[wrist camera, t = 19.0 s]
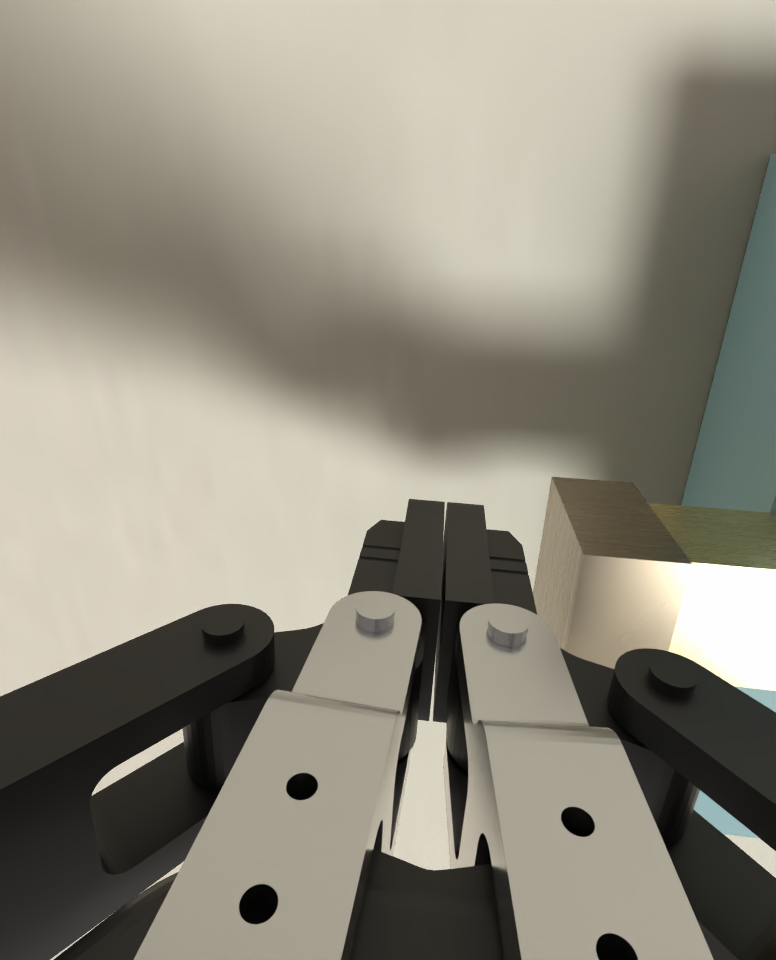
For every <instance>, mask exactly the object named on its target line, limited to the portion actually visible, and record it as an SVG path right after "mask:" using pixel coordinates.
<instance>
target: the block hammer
mask: <svg viewBox="0 0 776 960" xmlns="http://www.w3.org/2000/svg"><path fill="white" fill-rule="evenodd" d="M533 597H534V602H535V606H536V611H537V615H538V616H539V617H541V618H542V619H544V620H545V621H546V622H547V623H548V624H549V625H550V627H551V628H552V630H553V632H554V634H555V636H556V639H557V642H558V644H559V647H560V648H561V649H563V650H565V651H566V652H568V653H570V654H572V655H574V656H576V657H579V658H582V659H584V660H587V661H590V662H593V663H596V664H600V665H603V666H606V667H609V668H612V669H614V668H615V664H616V662H617V660H618V658H619V657H620V656H621V655H622V654H624V653H626V652H628V651H631V650H635V649H643V648H650V649H659V650H665V651H669V652H672V653H675V654H678V655H681V656H684V657H686V658H688V659H690V660H692V661H694V662H696V663H698V664H699V665H701V666H703V667H704V668H706V669H707V670H709V671H711V672H712V673H714V674H715V675H717V676H719V677H720V678H722V679H723V680H725V681H727V682H728V683H730V684H731V685H733V686H737V687H746V688H756V689H766V690H775V691H776V513H769V512H756V511H744V510H731V509H719V508H706V507H694V506H681V505H669V504H656V503H647V501H646V500H645V499H644V497H643V496H642V495H641V493H640V492H639V491H638V489H637V488H636V486H635V485H634V484H633V483H625V482H612V481H599V480H586V479H573V478H560V477H552V479H551V485H550V491H549V498H548V504H547V510H546V516H545V523H544V529H543V535H542V541H541V547H540V554H539V560H538V566H537V572H536V579H535V585H534V591H533Z"/></svg>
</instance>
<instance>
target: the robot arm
mask: <svg viewBox="0 0 776 960" xmlns="http://www.w3.org/2000/svg"><path fill="white" fill-rule="evenodd" d="M444 505H445V502H439V501H427V500H416V499H409V502H408V508H407V514H406V520H405V522H398V521H387V520H380V521H379V522H378V523H377V524H375V525H374V526H373V527H371V528H370V529H369V530H368V531H367V533H366V536H365V540H364V543H363V547H362V550H361V553H360V557H359V560H358V563H357V566H356V570H355V573H354V576H353V580H352V583H351V587H350V590H349V593H348V596H346V597H344V598H342V599H340V600H339V601H337V602H336V603H335V604H334V605H333V606H332V608H331V609H330V611H329V613H328V616H327V618H326V620H325V622H324V623H323V624H320V625H318V626H315V627H311V628H307V629H301V630H293V631H284V632H275V633H274V625H273V622H272V620H271V619H270V617H269V616H268V615H267V614H266V613H264V612H263V611H261V610H259V609H257V608H255V607H251V606H247V605H241V604H223V605H217V606H212V607H208V608H205V609H202V610H199V611H197V612H195V613H192V614H190V615H188V616H185V617H183V618H181V619H178V620H176V621H174V622H172V623H169V624H167V625H165V626H162V627H160V628H158V629H155V630H153V631H151V632H148V633H146V634H144V635H142V636H139V637H137V638H135V639H132V640H130V641H128V642H125V643H123V644H121V645H118V646H116V647H114V648H111V649H109V650H107V651H105V652H102V653H100V654H98V655H95V656H93V657H91V658H88V659H86V660H84V661H81V662H79V663H77V664H75V665H72V666H70V667H68V668H65V669H63V670H61V671H58V672H56V673H54V674H51V675H49V676H47V677H45V678H42V679H40V680H38V681H35V682H33V683H31V684H28V685H26V686H24V687H21V688H19V689H17V690H14V691H12V692H10V693H8V694H5V695H3V696H1V697H0V960H50V959H51V958H53V957H54V956H55V955H57V954H58V953H59V952H61V951H62V950H64V949H65V948H66V947H68V946H69V945H70V944H72V943H73V942H74V941H76V940H77V939H79V938H80V937H81V936H83V935H84V934H85V933H87V932H88V931H89V930H91V929H92V928H93V927H95V926H96V925H98V924H99V923H100V922H102V921H103V920H104V919H105V920H104V921H103V922H102V923H100V924H99V925H98V926H96V927H95V928H94V929H93V930H91V931H90V932H89V933H87V934H86V935H85V936H84V937H82V938H81V939H80V940H78V941H77V942H76V943H74V944H73V945H72V946H71V947H69V948H68V949H67V950H65V951H64V952H63V953H62V954H60V955H59V956H58V957H56V958H55V959H54V960H776V878H775V877H774V876H772V875H771V874H770V873H769V872H768V871H766V870H765V869H764V868H763V867H762V866H761V865H759V864H758V863H757V862H756V861H755V860H753V859H752V858H751V857H750V856H749V855H747V854H746V853H745V852H744V851H743V850H741V849H740V848H739V847H738V846H737V845H735V844H734V843H733V842H732V841H731V840H730V839H728V838H727V837H726V836H725V835H724V834H722V833H721V832H720V831H719V830H718V829H716V828H715V827H714V826H713V825H712V824H710V823H709V822H708V821H707V820H706V819H704V818H703V817H702V816H701V815H700V814H699V813H697V812H696V811H695V810H694V806H695V803H696V801H697V798H698V795H699V792H700V790H701V791H702V792H703V793H704V794H706V795H707V796H708V797H709V798H710V799H712V800H713V801H714V802H715V803H717V804H718V805H719V806H720V807H722V808H723V809H724V810H725V811H727V812H728V813H729V814H730V815H732V816H733V817H734V818H735V819H737V820H738V821H739V822H740V823H742V824H743V825H744V826H745V827H747V828H748V829H749V830H750V831H751V832H753V833H754V834H755V835H756V836H758V837H759V838H760V839H761V840H763V841H764V842H765V843H766V844H768V845H769V846H770V847H771V848H773V849H774V850H775V851H776V712H774V711H773V710H771V709H769V708H768V707H766V706H765V705H763V704H761V703H760V702H758V701H757V700H755V699H754V698H752V697H750V696H749V695H747V694H746V693H744V692H742V691H741V690H739V689H738V688H736V687H734V686H733V685H731V684H730V683H728V682H727V681H725V680H723V679H722V678H720V677H719V676H717V675H715V674H714V673H712V672H711V671H709V670H707V669H706V668H704V667H703V666H701V665H699V664H698V663H696V662H694V661H692V660H690V659H688V658H686V657H684V656H681V655H678V654H675V653H672V652H669V651H665V650H659V649H650V648H643V649H635V650H631V651H628V652H626V653H624V654H622V655H621V656H620V657H619V658H618V660H617V662H616V664H615V668H614V669H612V668H609V667H606V666H603V665H600V664H596V663H593V662H590V661H587V660H584V659H582V658H579V657H576V656H574V655H572V654H570V653H568V652H566V651H565V650H563V649H561V648H560V647H559V644H558V642H557V639H556V636H555V634H554V632H553V630H552V628H551V627H550V625H549V624H548V623H547V622H546V621H545V620H544V619H542V618H541V617H539V616H538V615H537V611H536V606H535V602H534V597H533V593H532V588H531V584H530V579H529V575H528V570H527V565H526V563H525V556H524V552H523V547H522V545H521V544H520V543H519V542H518V541H517V540H516V539H515V538H514V537H513V535H512V534H511V533H510V532H509V531H498V530H487V529H486V522H485V513H484V506H483V505H474V504H463V503H451V502H448V503H447V510H446V520H445V530H444ZM443 531H444V541H443ZM435 655H436V664H435ZM434 665H435V687H434V709H433V721H436V722H445V723H447V733H446V746H445V754H444V766H443V769H444V783H445V797H446V812H447V826H448V841H449V855H450V869H447V870H435V871H433V870H426V869H423V868H420V867H418V866H415V865H413V864H410V863H408V862H405V861H403V860H400V859H398V858H395V857H393V852H394V847H395V841H396V836H397V830H398V824H399V819H400V813H401V808H402V802H403V797H404V791H405V785H406V780H407V774H408V769H409V763H410V751H411V748H412V747H413V745H414V743H415V739H416V733H417V722H418V720H425V721H429V715H430V705H431V695H432V685H433V675H434ZM182 728H183V735H184V742H183V743H181V744H179V745H178V746H176V747H174V748H173V749H171V750H169V751H167V752H166V753H164V754H162V755H161V756H159V757H157V758H156V759H154V760H152V761H150V762H149V763H147V764H145V765H144V766H142V767H140V768H139V769H137V770H135V771H133V772H132V773H130V774H128V775H127V776H125V777H123V778H122V779H120V780H118V781H116V782H115V783H113V784H111V785H110V786H108V787H106V788H104V789H103V790H101V791H99V792H98V793H96V794H94V795H93V796H91V795H92V792H93V790H94V788H95V787H96V785H97V784H98V782H99V781H100V780H101V779H102V778H103V777H104V776H105V775H106V774H107V773H108V772H109V771H110V770H111V769H113V768H114V767H116V766H117V765H119V764H121V763H123V762H124V761H126V760H128V759H130V758H131V757H133V756H135V755H137V754H138V753H140V752H142V751H144V750H145V749H147V748H149V747H151V746H152V745H154V744H156V743H158V742H159V741H161V740H163V739H165V738H166V737H168V736H170V735H172V734H173V733H175V732H177V731H179V730H180V729H182ZM183 861H184V863H183V865H182V867H181V869H180V871H179V872H177V873H175V874H173V875H171V876H169V877H167V878H165V879H163V880H161V881H160V882H158V883H156V884H155V885H153V886H151V885H152V884H153V883H155V882H156V881H157V880H159V879H160V878H161V877H163V876H164V875H166V874H167V873H168V872H170V871H171V870H172V869H174V868H175V867H176V866H178V865H179V864H181V863H182V862H183ZM149 886H151V887H150V888H148V887H149ZM147 888H148V889H147ZM145 889H147V890H145ZM144 890H145V891H144ZM142 891H143V892H142ZM141 892H142V893H141ZM138 894H139V895H138ZM127 902H128V903H127ZM119 908H120V909H119ZM115 911H116V912H115ZM111 914H112V915H111ZM110 915H111V916H110ZM108 916H109V917H108ZM107 917H108V918H107ZM106 918H107V919H106Z"/></svg>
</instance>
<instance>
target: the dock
mask: <svg viewBox="0 0 776 960" xmlns="http://www.w3.org/2000/svg"><path fill="white" fill-rule="evenodd" d="M681 506H694V507H706V508H719V509H731V510H744V511H756V512H769V513H776V152H775V153H772V154H771V155H770V159H769V163H768V167H767V171H766V175H765V178H764V182H763V186H762V190H761V194H760V198H759V202H758V206H757V210H756V214H755V217H754V221H753V225H752V229H751V233H750V237H749V241H748V245H747V249H746V253H745V257H744V260H743V264H742V268H741V272H740V276H739V280H738V284H737V288H736V292H735V296H734V300H733V303H732V307H731V311H730V315H729V319H728V323H727V327H726V331H725V335H724V339H723V342H722V346H721V350H720V354H719V358H718V362H717V366H716V370H715V374H714V378H713V382H712V385H711V389H710V393H709V397H708V401H707V405H706V409H705V413H704V417H703V421H702V424H701V428H700V432H699V436H698V440H697V444H696V448H695V452H694V456H693V460H692V464H691V467H690V471H689V475H688V479H687V483H686V487H685V491H684V495H683V499H682V503H681ZM734 687H736V688H738V689H739V690H741V691H742V692H744V693H746V694H747V695H749V696H750V697H752V698H754V699H755V700H757V701H758V702H760V703H761V704H763V705H765V706H766V707H768V708H769V709H771V710H773V711H774V712H776V691H775V690H766V689H756V688H746V687H737V686H734ZM694 810H695V811H696V812H697V813H699V814H700V815H701V816H702V817H703V818H704V819H706V820H707V821H708V822H709V823H710V824H712V825H713V826H714V827H715V828H716V829H718V830H719V831H720V832H721V833H722V834H729V835H737V836H745V837H753V838H759V837H758V836H756V835H755V834H754V833H753V832H751V831H750V830H749V829H748V828H747V827H745V826H744V825H743V824H742V823H740V822H739V821H738V820H737V819H735V818H734V817H733V816H732V815H730V814H729V813H728V812H727V811H725V810H724V809H723V808H722V807H720V806H719V805H718V804H717V803H715V802H714V801H713V800H712V799H710V798H709V797H708V796H707V795H706V794H704V793H703V792H702V791H701V790H700V792H699V795H698V798H697V801H696V803H695V806H694Z"/></svg>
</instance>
